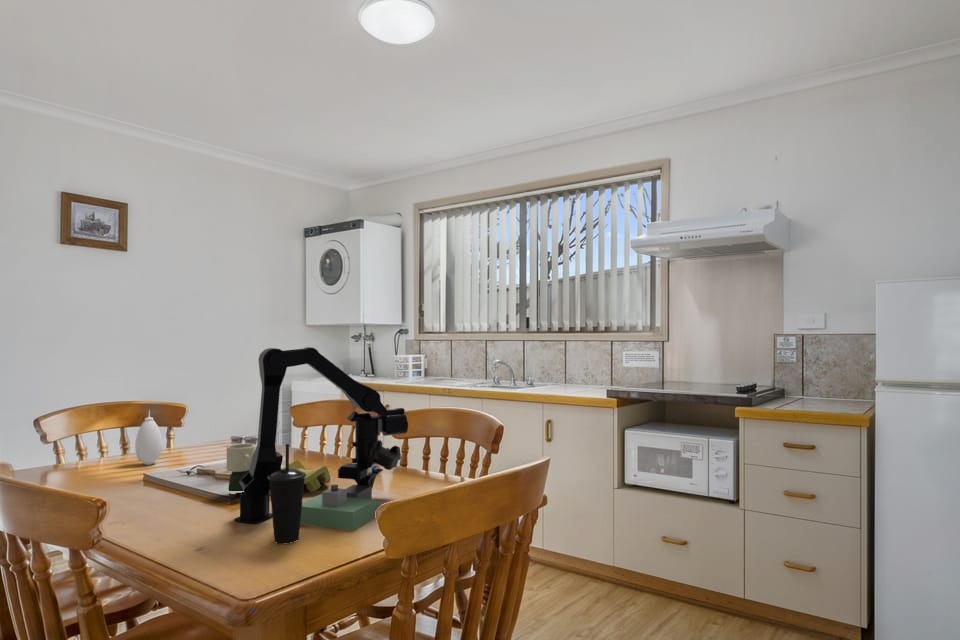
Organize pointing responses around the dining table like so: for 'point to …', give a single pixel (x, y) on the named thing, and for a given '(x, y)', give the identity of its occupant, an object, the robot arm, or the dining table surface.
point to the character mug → (238, 463)
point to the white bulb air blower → (148, 442)
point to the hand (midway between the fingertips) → (366, 498)
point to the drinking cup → (286, 501)
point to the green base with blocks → (337, 510)
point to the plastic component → (311, 475)
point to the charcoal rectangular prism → (359, 491)
